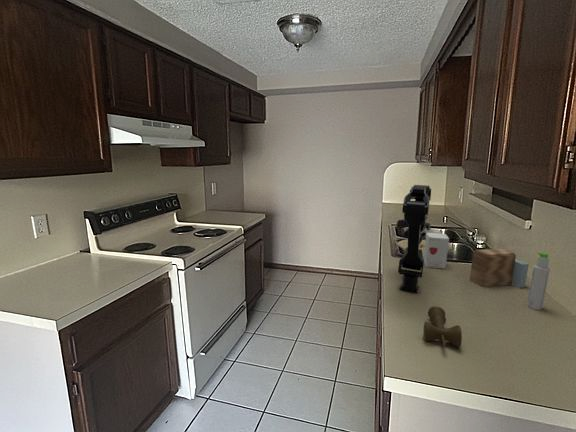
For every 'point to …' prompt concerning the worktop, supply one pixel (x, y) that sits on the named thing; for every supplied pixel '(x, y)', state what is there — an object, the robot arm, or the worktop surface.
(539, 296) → the bottle
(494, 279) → the walnut box
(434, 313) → the kendama
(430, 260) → the supplement box
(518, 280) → the board
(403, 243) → the cheese
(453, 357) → the worktop surface
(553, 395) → the worktop surface
